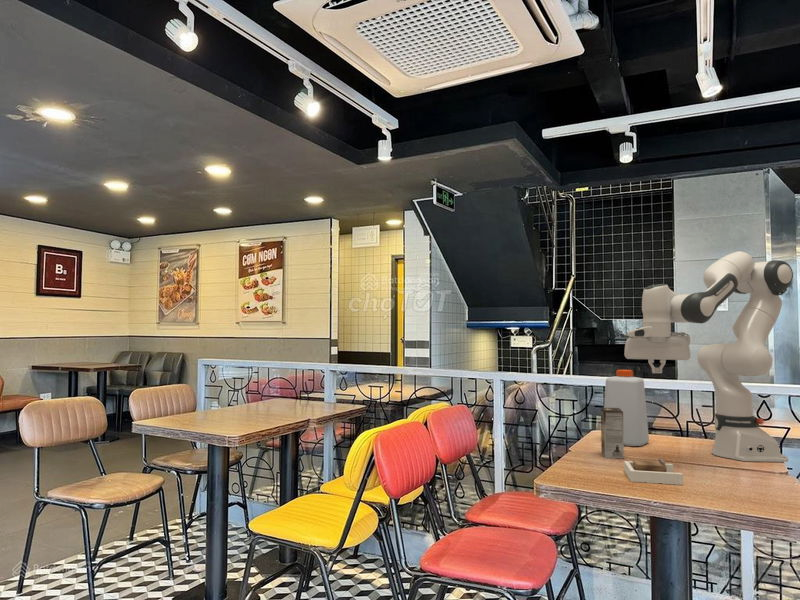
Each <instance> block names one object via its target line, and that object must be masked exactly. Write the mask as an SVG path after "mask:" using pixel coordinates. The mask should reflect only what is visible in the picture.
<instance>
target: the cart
mask: <svg viewBox="0 0 800 600" xmlns="http://www.w3.org/2000/svg"><path fill="white" fill-rule="evenodd" d="M632 462H633V469H634V470H637V471H654V472H666V465H665V464H666V461H664V460H663V459H662V458H661V457H660V458H659V457H658V460H640V459H639V460H637V459H633V461H632Z"/></svg>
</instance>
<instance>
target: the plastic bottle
mask: <svg viewBox="0 0 800 600" xmlns="http://www.w3.org/2000/svg"><path fill="white" fill-rule="evenodd" d="M615 373H616V376H610V377H607V378H606V379H605V386H604V387H605V388H604V400H603V401H604V404H603V408H620V409H621V410H622V411H623V445H626V446H625V447H630V446H639V447H642V446H644V445H646V444H648V443H649V440H650V436H649V425H648V424H649V423H648V414H647V413H648V412H647V401H646V400H647V399H646V392H645V391H646V390H645V389H646V388H645V381H644V379H643V378H641V377H638V376H637V377H636V376H634V370H632V369H617V370H616V372H615Z"/></svg>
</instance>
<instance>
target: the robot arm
mask: <svg viewBox="0 0 800 600" xmlns="http://www.w3.org/2000/svg"><path fill="white" fill-rule="evenodd" d="M793 278H794V272H793V269H792V267H791V266H790V264H789V263H788V262H786V261H783V260H777V259H774V260H773V259H772V260H769V261H768V260H766V261H758V262H755V261H754V258H753V257H752V256H751V255H750V254H749V253H747V252H745V251H740V250H739V251H734V252H731V253H729V254H726V255H724V256H723V257H721V258H719V259H717V260H716V261H715V262H713V263H711V264H710V265H709V266H708V267H707V268H706V269H705V270H704V273H703V282H704V285H705V287H706V288H707V289H706V290H705V291H700V292H694V293H683V294H679V293H677V292H675V291H673V290H671V289H670V288H669V285H668V284H665V283H660V284H651V285H647V286H646V287H645V288H644V289H643V292H642V297H641V298H642V299H641V311H642V315H643V317H642V322H641V327H637V328H634V329H631V330H629V331H628V332H627V336H628V338H627V339H626V341H625V344H624V354H623V355H624V357H625V359H627V360H648V361H647V362H648V364H649V366H650V368H651V373H652V374H662V373H663V368H664V366H665V365H666V362H667V360H668V361H669V360H670V361H689V359H691V349H690V343H691V337H690V335H689V334H688V333H686V332H681V331H680V332H677V331H672V325H671V324H672V323H673V324H674V323H688V324H690V323H691V324H692V323H693V324H705V323H707V322H708V321H709V320H711V319H712V318H713V316H714V313H715V312H716V311H717V309H718V308H719V307H720V306H721V305H722V304H723V303H724V302H725V301H726V300H727V299H728V298H729V297H730V296H731V295H732V294H733V293H735V294H739V295H741V294H742V295H746V294H749V299H748V302H747V303H746V304H745V306H744V307H743V308H742V310H741V312H740V314H739V315H738V317H737V318H736V320H735V322H734V324H733V326H732V331H733V335H734V336H735V337H736V341H735V342H734V343H722V342H721V343H720V342H718V343H711V344H707V345H704V346H702V347H701V348H700V349H699V350H698V353H697V363H698V365H699V367H700V368H701V369H702V370H703V371H704V372H705V373H706V374H707V375H708V377H709V378H710V381H711V383H712V386H713V389H714V393H715V407H716V408H715V410H716V411H715V412H716V413H714V427H715V428H714V429H715V435H714V438H715V439H714V444H713V448H712V450H711V454H713V455H715V456H717V457H721V458H727V459H732V460H737V461H740V462H741V461H742V462H761V463H762V462H764V463H766V462H769V463H770V462H771V463H788V462H789V457H788V456H786V455H785V454H784V453H783V454H782V453H781V449H780V448H781V447H780V445H779V442H778V441H777V440H776V439H775V437H773V436H771V435H770V434H769V433H767V431H765V430H763V429H762V428H761V427H760V425H764V423H765V420H764V419H763V418H759V417H756V416H755V415H754V414H753V411H754V410H753V409H754V408H753V407H754V406H753V394H752V392H751V391H750V389H748V388H747V387H745V386H744V384H742V382H741V380H740V377H741V376H742V377H756V376H764V375H766V374H767V373H769V372H770V370H771V369H772V367H773V357H772V355H771V352H770V351H769V349H767V347H766V343H767V339H768V337H769V335H770V333H771V331H772V329H773V327H774V326H775V324H776V322H777V320H778V319H779V316H780V314H781V311H782V307H783V300H782V298H781V297H780V296H782V295H784V294H785V293H786V292H787V290H788V288H789V287H790V286H791V284H792V281H793ZM655 360H659V363H660V366H658V367H655V365H654V363H655Z"/></svg>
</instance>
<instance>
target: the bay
mask: <svg viewBox="0 0 800 600" xmlns="http://www.w3.org/2000/svg"><path fill="white" fill-rule="evenodd" d="M665 465H666V472H654V471H637V470H634V469H633V461H631V460H629V461H626V460H624V461H623V471H624V473H625V475H626V474H627V475H626V476H627V478H628V480H629V481H630V482H633V483H644V482H646V484H659V483H662V484H661V485H663V484H664V485H674V484H675V485H676V486H684V474H683V473H682V472H674V463H665Z"/></svg>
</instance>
